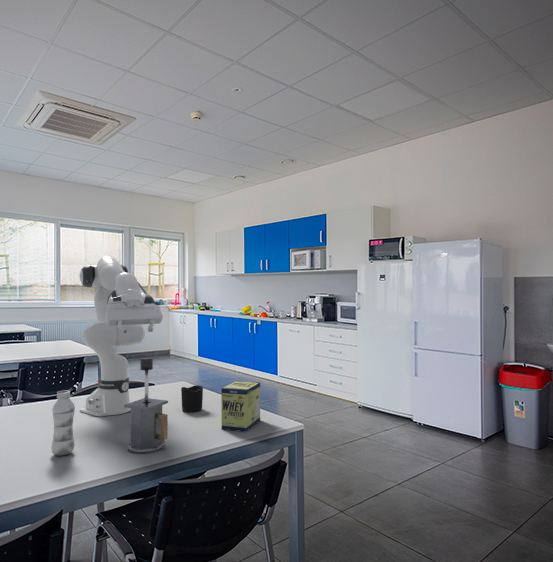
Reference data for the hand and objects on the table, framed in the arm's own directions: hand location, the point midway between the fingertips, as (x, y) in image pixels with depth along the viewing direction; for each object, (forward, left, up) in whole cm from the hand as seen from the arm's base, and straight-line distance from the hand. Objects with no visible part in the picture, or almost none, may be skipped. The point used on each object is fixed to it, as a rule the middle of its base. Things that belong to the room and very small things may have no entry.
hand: (138, 331), depth 156 cm
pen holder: (-2, +37, -38) cm, 53 cm away
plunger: (+10, -7, -27) cm, 30 cm away
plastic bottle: (-10, -23, -38) cm, 46 cm away
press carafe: (+10, -7, -38) cm, 40 cm away
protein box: (+28, +27, -38) cm, 54 cm away
